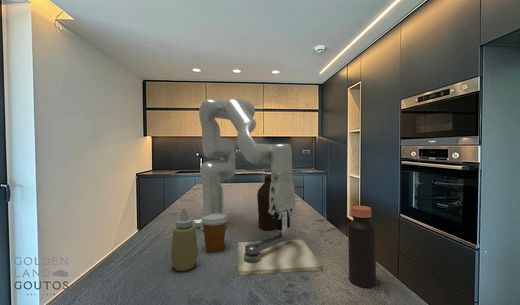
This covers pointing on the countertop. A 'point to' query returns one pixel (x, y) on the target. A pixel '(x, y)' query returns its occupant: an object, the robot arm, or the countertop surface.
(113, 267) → the countertop surface
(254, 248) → the lever
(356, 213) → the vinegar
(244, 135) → the robot arm
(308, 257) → the lever board
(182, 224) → the squeeze bottle
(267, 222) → the olive oil
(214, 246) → the disposable coffee cup
